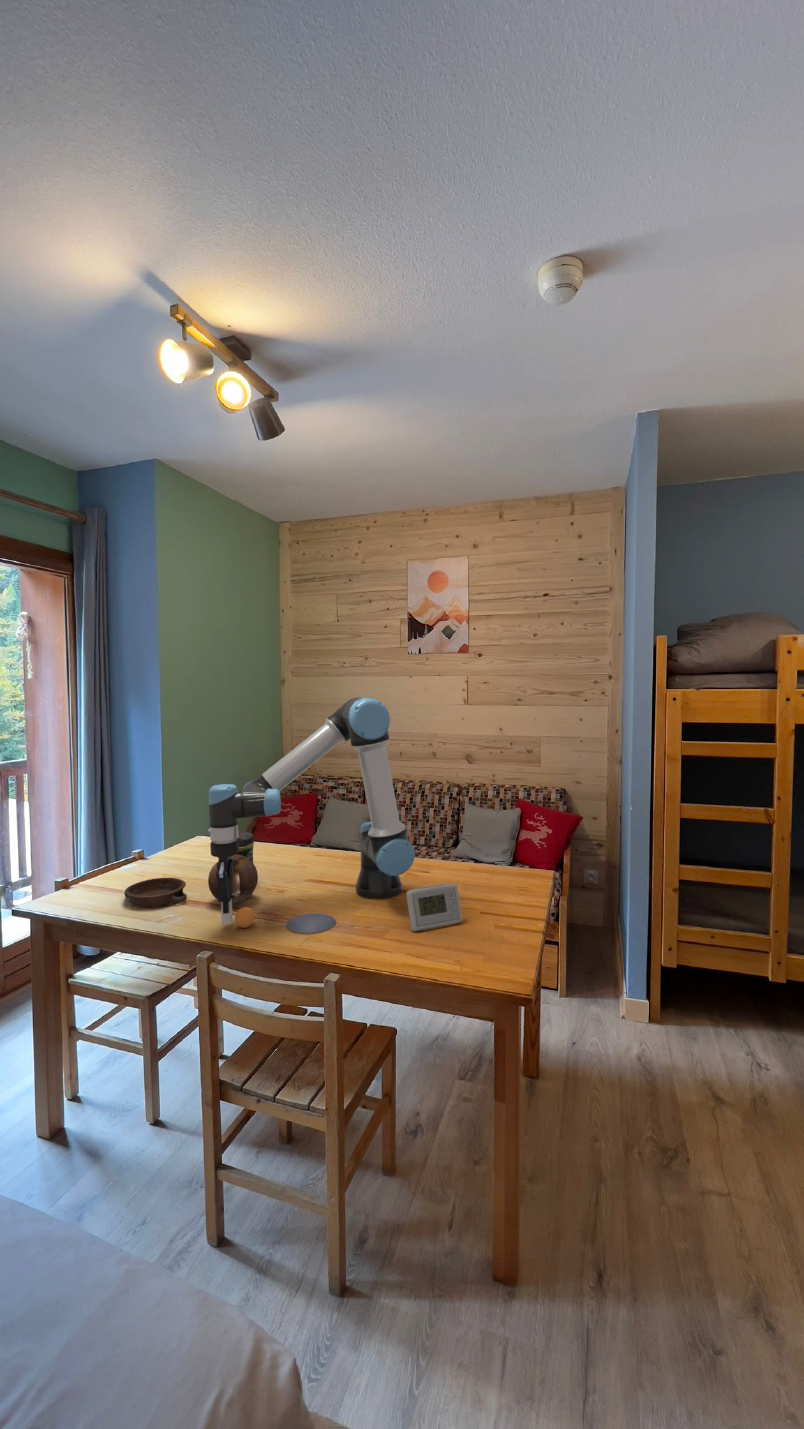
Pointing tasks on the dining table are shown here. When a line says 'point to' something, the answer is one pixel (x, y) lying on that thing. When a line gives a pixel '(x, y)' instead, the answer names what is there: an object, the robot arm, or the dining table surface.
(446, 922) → the digital clock
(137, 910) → the dining table surface
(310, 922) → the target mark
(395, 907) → the dining table surface
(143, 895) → the dish
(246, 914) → the ball
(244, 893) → the wooden sphere
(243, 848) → the coffee jar
